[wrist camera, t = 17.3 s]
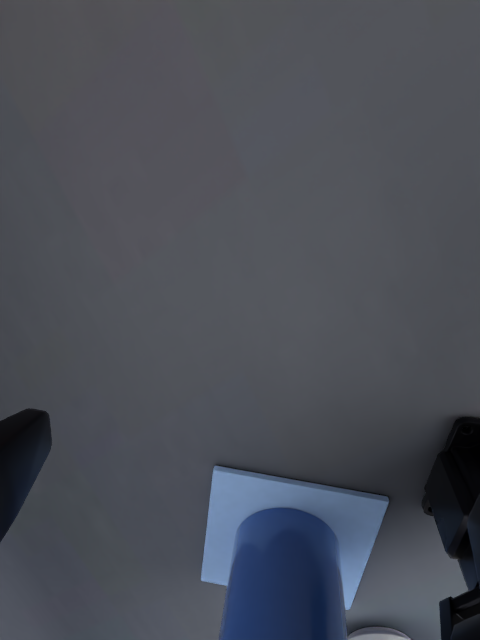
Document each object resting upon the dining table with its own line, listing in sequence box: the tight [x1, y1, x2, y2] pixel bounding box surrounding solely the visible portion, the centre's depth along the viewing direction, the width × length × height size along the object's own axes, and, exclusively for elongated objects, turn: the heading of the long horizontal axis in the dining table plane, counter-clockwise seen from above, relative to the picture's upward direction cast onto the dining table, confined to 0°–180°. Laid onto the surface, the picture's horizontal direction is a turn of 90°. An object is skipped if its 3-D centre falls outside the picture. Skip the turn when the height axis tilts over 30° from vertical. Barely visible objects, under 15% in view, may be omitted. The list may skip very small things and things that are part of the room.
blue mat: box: [201, 466, 389, 610], centre depth 27 cm, size 10×10×1 cm
